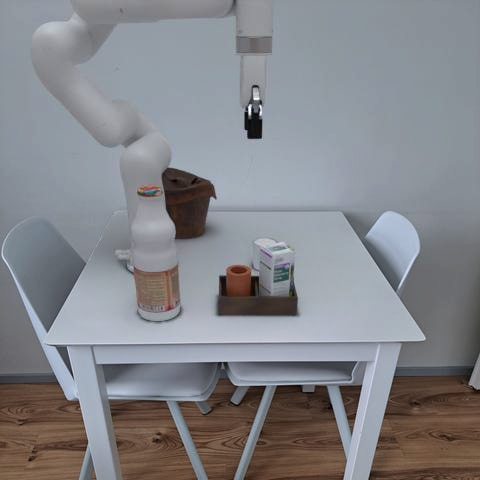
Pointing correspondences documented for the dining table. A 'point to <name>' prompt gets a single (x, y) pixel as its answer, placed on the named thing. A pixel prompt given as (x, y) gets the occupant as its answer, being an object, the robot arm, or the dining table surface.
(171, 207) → the brown tapered bucket
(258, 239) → the white tapered cylinder
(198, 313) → the dining table surface
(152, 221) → the fruit juice
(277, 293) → the syrup box
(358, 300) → the dining table surface
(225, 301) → the spice rack
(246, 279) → the orange hollow cylinder
